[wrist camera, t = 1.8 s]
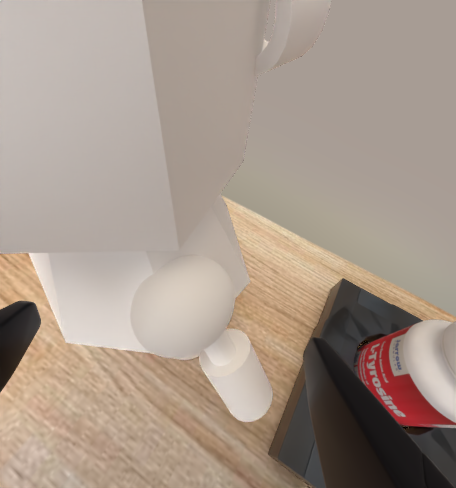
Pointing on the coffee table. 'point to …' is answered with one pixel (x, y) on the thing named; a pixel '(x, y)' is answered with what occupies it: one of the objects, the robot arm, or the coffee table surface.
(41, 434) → the coffee table surface
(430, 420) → the pill bottle
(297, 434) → the board
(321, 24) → the robot toy
